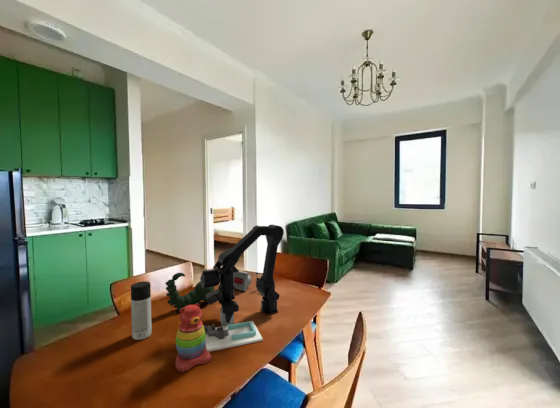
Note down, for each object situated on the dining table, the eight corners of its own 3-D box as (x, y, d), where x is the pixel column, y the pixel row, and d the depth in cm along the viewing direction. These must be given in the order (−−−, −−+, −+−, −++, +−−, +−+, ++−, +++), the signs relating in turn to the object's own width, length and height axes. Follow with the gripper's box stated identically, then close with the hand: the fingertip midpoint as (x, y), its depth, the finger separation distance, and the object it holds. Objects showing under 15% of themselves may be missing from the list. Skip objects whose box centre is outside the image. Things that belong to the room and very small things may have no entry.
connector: (232, 319, 114) (232, 307, 114) (234, 323, 110) (233, 311, 110) (220, 321, 112) (220, 309, 112) (221, 325, 109) (221, 313, 108)
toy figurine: (174, 321, 116) (224, 300, 132) (169, 279, 113) (221, 263, 130) (166, 313, 122) (215, 294, 139) (161, 274, 120) (211, 259, 137)
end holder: (250, 324, 108) (250, 321, 108) (256, 335, 100) (256, 331, 100) (227, 328, 105) (227, 325, 105) (231, 340, 97) (231, 336, 97)
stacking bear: (178, 374, 80) (177, 316, 79) (170, 357, 88) (169, 304, 87) (213, 360, 86) (212, 307, 85) (202, 345, 95) (201, 296, 94)
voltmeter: (229, 292, 143) (229, 274, 143) (231, 285, 155) (231, 268, 154) (278, 291, 146) (279, 273, 145) (277, 284, 157) (277, 267, 156)
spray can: (155, 332, 103) (154, 282, 102) (141, 342, 97) (140, 288, 95) (142, 329, 105) (141, 280, 104) (127, 338, 99) (126, 285, 98)
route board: (252, 322, 111) (252, 315, 111) (262, 340, 98) (262, 332, 98) (203, 331, 104) (203, 323, 104) (206, 352, 91) (206, 343, 91)
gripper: (204, 278, 116) (205, 313, 117) (209, 294, 99) (209, 335, 100) (230, 275, 120) (230, 309, 121) (239, 290, 103) (239, 329, 104)
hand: (227, 320), depth 111 cm, fingers closed on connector, 4 cm apart
